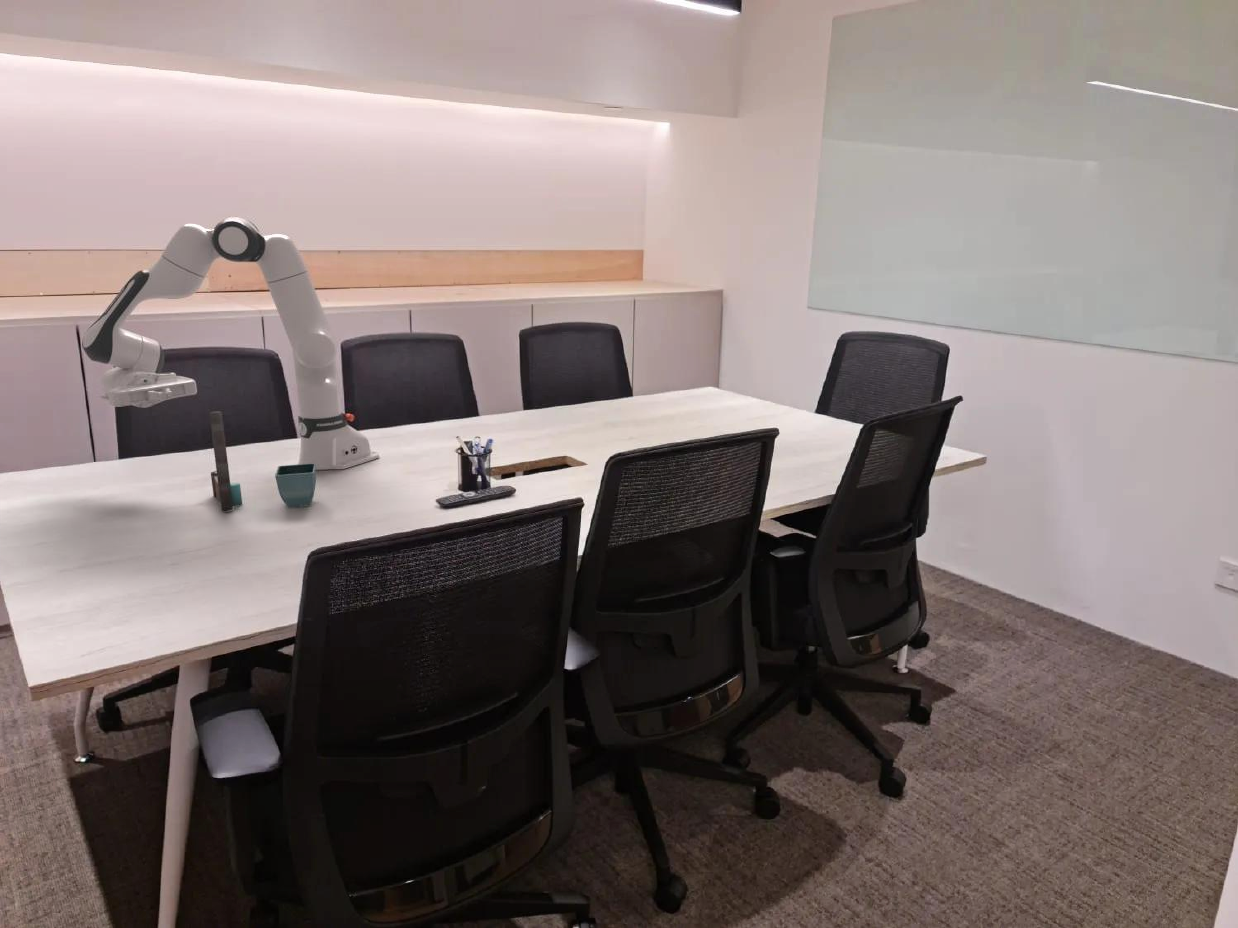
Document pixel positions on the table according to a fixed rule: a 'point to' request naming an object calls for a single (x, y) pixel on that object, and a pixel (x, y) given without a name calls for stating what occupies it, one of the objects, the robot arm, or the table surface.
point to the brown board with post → (221, 462)
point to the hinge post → (213, 482)
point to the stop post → (236, 494)
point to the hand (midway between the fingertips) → (166, 395)
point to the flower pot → (296, 484)
